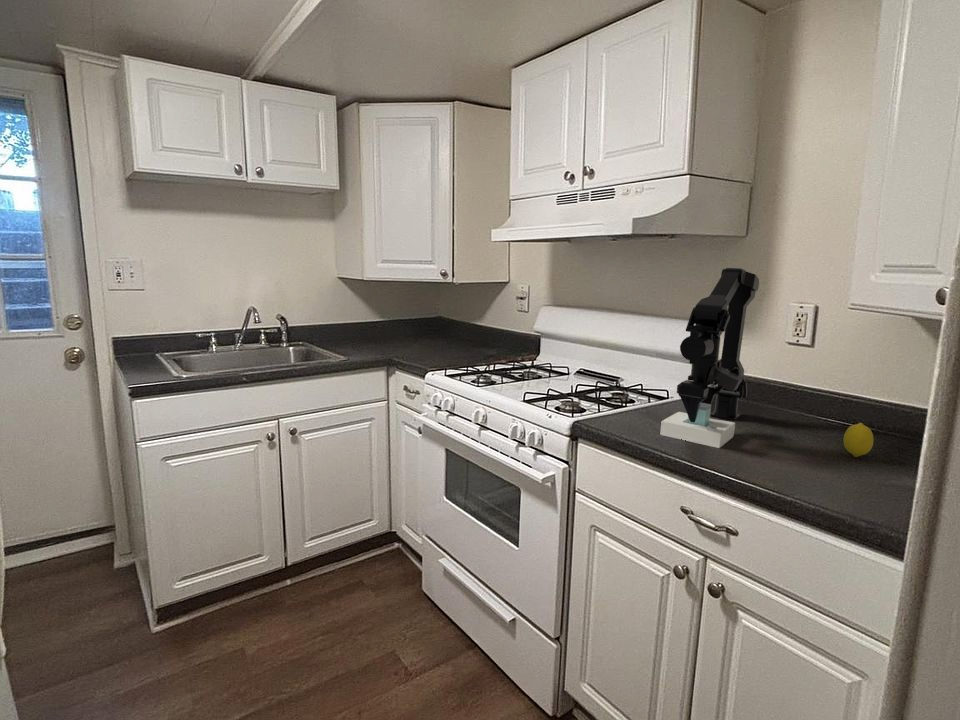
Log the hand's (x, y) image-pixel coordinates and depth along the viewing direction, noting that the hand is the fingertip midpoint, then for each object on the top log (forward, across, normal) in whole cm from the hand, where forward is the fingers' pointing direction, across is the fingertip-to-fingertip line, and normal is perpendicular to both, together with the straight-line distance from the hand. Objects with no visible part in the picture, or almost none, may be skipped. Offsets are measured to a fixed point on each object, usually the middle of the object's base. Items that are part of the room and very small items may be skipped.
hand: (698, 418), depth 136 cm
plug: (+4, 0, 0) cm, 4 cm away
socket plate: (+4, 0, 0) cm, 4 cm away
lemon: (+5, +10, -32) cm, 34 cm away
